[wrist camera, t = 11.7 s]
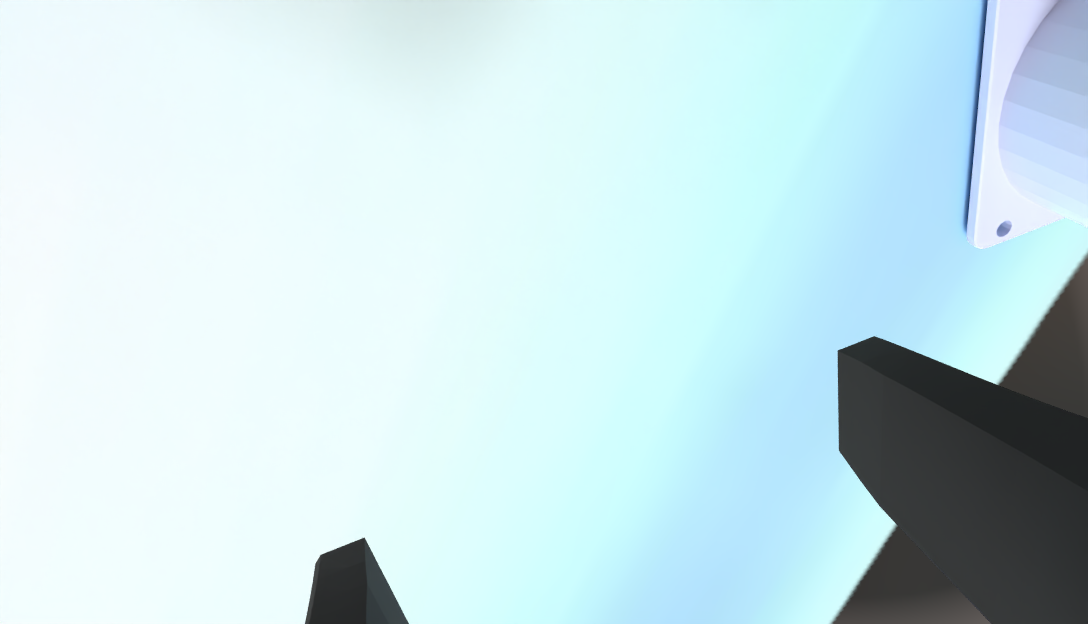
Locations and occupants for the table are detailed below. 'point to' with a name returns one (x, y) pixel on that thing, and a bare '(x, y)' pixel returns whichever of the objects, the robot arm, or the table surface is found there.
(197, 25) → the table surface
